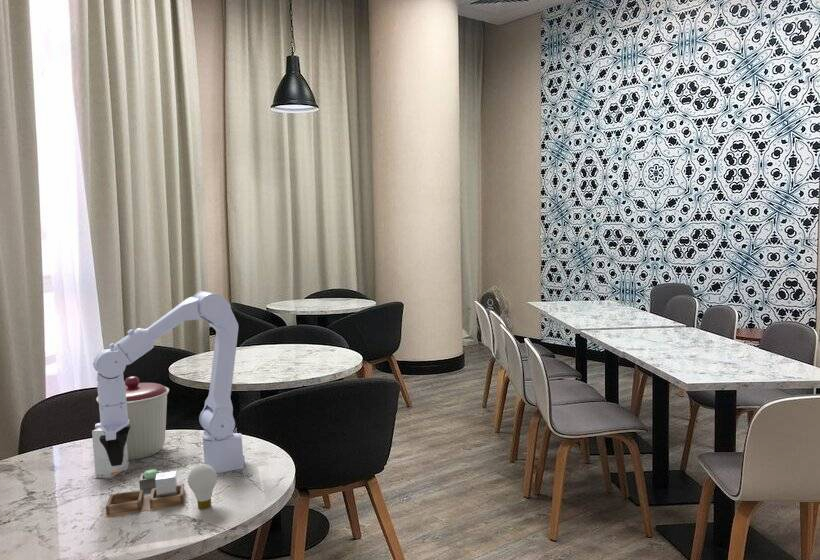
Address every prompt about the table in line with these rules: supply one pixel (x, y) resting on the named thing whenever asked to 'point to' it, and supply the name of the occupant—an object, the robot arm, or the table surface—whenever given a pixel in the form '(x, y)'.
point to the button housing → (147, 482)
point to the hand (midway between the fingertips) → (118, 461)
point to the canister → (145, 417)
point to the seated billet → (166, 484)
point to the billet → (119, 467)
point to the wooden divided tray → (142, 501)
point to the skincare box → (100, 456)
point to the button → (150, 473)
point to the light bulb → (202, 484)
